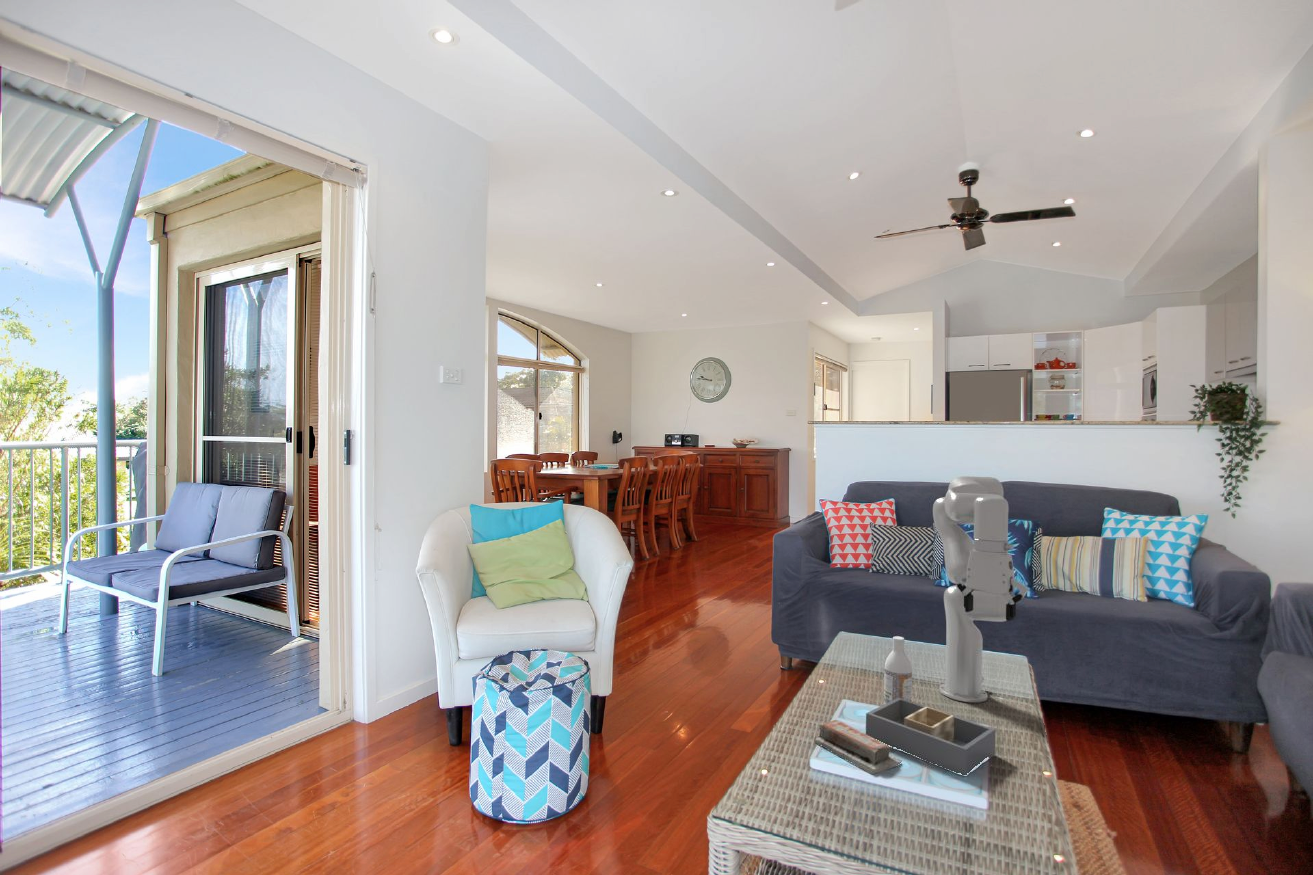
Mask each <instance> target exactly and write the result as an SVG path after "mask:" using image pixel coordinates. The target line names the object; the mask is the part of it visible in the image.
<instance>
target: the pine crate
mask: <svg viewBox="0 0 1313 875" xmlns="http://www.w3.org/2000/svg"><path fill="white" fill-rule="evenodd" d="M954 716H955V715H953V714H952V713H951V714H950V713H948V712H944V711H942V710H938V709H936V708H932V707H929V706H926V707H924V708H922V709H920V710H918V711H916V712H915V713H913V714H911V715H909V716H907V717H905V718H904V725H905V726H908V727H910V728H913V729H916V730H919V731H921V732H924V733H927V734H930V735H932V736H935V737H938V738H941V739H943V740H946V741H949V742H952V741H954Z"/></svg>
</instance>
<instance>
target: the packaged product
mask: <svg viewBox="0 0 1313 875" xmlns="http://www.w3.org/2000/svg"><path fill="white" fill-rule="evenodd" d="M813 739H814V740H813V743H815V744H817V745H818V746H820V745H822V746H823V747H822V746H821V747H822V748H824V747H825V748H826V749H825V748H824V749H825V750H827V749H829V750H830V751H832V752H833V754H834V753H835V754H834V755H836V754H837V755H836V756H838V755H839V756H840V757H839V756H838V757H839V758H841V759H843V758H844V759H843V760H845V759H846V760H848V761H850V762H852V763H853V764H852V763H851V764H852V765H854V764H855V765H854V766H856V767H857V766H858V768H860V769H861V768H862V769H861V770H863V769H864V770H863V771H864V772H865V771H866V772H868V773H869V774H871V773H872V774H871V775H875V774H879V773H881V772H885V771H886V770H889V768H890V769H893V768H895V767H897V766H896V765H898V764H900V763H901V762H902V759H899V758H897V757H896V756H894V755H893V754H890V753H891V751H892V748H891V747H889V746H888V745H886V744H884V743H882V742H880V741H878V740H876V739H874V738H872V737H870V736H868V735H866V733H865V732H863V731H861V730H858V729H857V728H854V727H852V726H851V725H848V724H846V722H843V721H840V720H836V719H835V720H831V721H828V722H825V723H822V724H820V725H819V734H818V736H815V737H814V738H813ZM829 750H828V751H829ZM830 751H829V752H830ZM832 752H831V753H832ZM846 760H845V761H846ZM848 761H847V762H848ZM850 762H849V763H850ZM902 763H903V762H902ZM902 763H901V764H902ZM901 764H900V765H901ZM894 766H895V767H894ZM898 766H899V765H898Z"/></svg>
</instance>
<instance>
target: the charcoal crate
mask: <svg viewBox="0 0 1313 875" xmlns="http://www.w3.org/2000/svg"><path fill="white" fill-rule="evenodd" d="M924 707H926V706H925V705H923V704H920V703H916V702H914V701H912V700H911V701H908V700H905V699H902V698H897V699H895V700H893V701H891V702H888V703H886V704H884V703H883V705H881V706H878V707H876V708H875V709H873V710H870V711H868V712H866V713H865V718H866V719H865V734H866V735H868V736H870V737H872V738H874V739H877V740H879V741H881V742H883V743H885V744H887V745H890V746H892V747H896V748H897V749H901V750H903V751H905V752H907V753H910V754H912V755H915V756H917V757H919V758H921V759H923V760H926V761H928V762H931V763H933V764H937V765H938V766H942V767H943V768H946V769H949V770H951V771H954V772H956V773H961V774H962V775H967V773H969V772H970V771H971V770H972V769H973V768H974V767H975V766H977V765H978V764H980V762H982V761H983V760H984V759H985V758H987V757H989V758H990V759H992V758H993V757H994V756H996V728H993V727H989V726H986V725H983V724H980V723H978V722H975V721H971V720H968V719H966V718H962V717H959V716H956V715H954V741H952V742H949V741H946V740H943V739H941V738H938V737H935V736H932V735H930V734H927V733H924V732H921V731H919V730H916V729H913V728H910V727H908V726H905V725H904V718H905V717H907V716H909V715H911V714H913V713H915V712H916V711H918V710H920V709H922V708H924ZM923 760H922V761H923ZM928 762H927V763H928ZM933 764H932V765H933ZM938 766H937V767H938ZM943 768H942V769H943ZM946 769H945V770H946ZM951 771H950V772H951ZM956 773H955V774H956Z"/></svg>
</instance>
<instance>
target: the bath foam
mask: <svg viewBox="0 0 1313 875" xmlns="http://www.w3.org/2000/svg"><path fill="white" fill-rule="evenodd" d="M883 673H884V674H883V676H884V678H883V705H884V704H886V703H888V702H891V701H893V700H895V699H897V698H902V699H905V700H908V701H911V702H912V686H913V684H912V681H913V680H912V679H913V677H912V676H913V675H912V674H913V668H912V664H911V661H910V659H909V658H908V655H907V654H906V652H905V638H904V637H903V636H898V635H896V636H893V637H892V651H891V652H890V653H889V654H888V656H887V658H886V659H885V663H884V671H883Z"/></svg>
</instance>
